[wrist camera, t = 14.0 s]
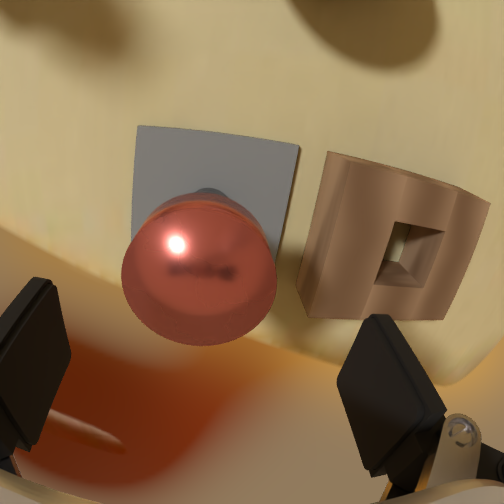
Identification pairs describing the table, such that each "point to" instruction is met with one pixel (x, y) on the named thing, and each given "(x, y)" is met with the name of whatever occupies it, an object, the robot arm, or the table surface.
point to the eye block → (386, 242)
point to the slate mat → (213, 173)
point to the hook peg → (200, 270)
